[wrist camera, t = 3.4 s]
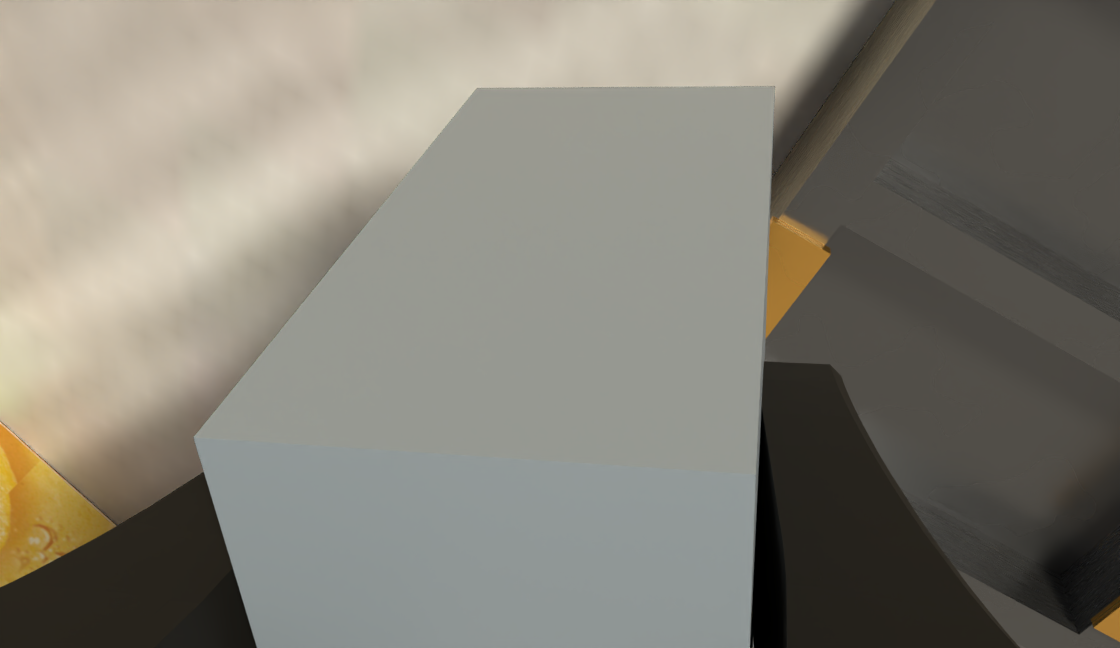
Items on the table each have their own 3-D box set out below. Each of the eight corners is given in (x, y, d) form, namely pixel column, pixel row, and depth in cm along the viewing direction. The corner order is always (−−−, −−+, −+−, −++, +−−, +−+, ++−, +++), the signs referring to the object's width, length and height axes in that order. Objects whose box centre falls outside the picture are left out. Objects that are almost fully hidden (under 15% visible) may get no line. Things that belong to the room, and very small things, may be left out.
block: (477, 88, 11) (192, 438, 6) (775, 85, 10) (755, 474, 5) (527, 555, 14) (376, 1044, 9) (756, 574, 13) (733, 1110, 8)
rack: (1621, 138, 15) (1742, 203, 13) (901, 736, 23) (911, 825, 22) (1043, -224, 14) (1084, -213, 12) (516, 537, 22) (492, 613, 21)
